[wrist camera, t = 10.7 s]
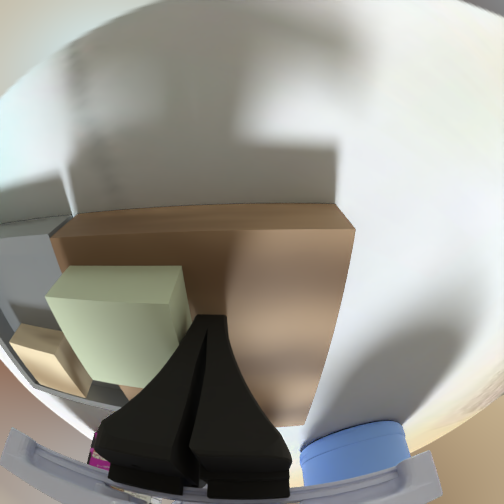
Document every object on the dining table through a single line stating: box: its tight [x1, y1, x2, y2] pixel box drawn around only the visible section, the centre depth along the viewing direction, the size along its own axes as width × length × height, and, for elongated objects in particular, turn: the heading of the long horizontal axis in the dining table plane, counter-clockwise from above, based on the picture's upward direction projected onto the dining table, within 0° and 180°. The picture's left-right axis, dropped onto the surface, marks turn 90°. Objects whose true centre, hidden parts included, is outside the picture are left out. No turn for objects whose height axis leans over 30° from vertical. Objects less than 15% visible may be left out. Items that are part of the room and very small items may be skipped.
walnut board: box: [50, 203, 356, 427], centre depth 16 cm, size 18×14×3 cm
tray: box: [0, 215, 129, 411], centre depth 16 cm, size 18×14×2 cm
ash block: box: [9, 323, 93, 398], centre depth 18 cm, size 6×6×2 cm
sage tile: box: [45, 266, 192, 388], centre depth 12 cm, size 6×6×2 cm
